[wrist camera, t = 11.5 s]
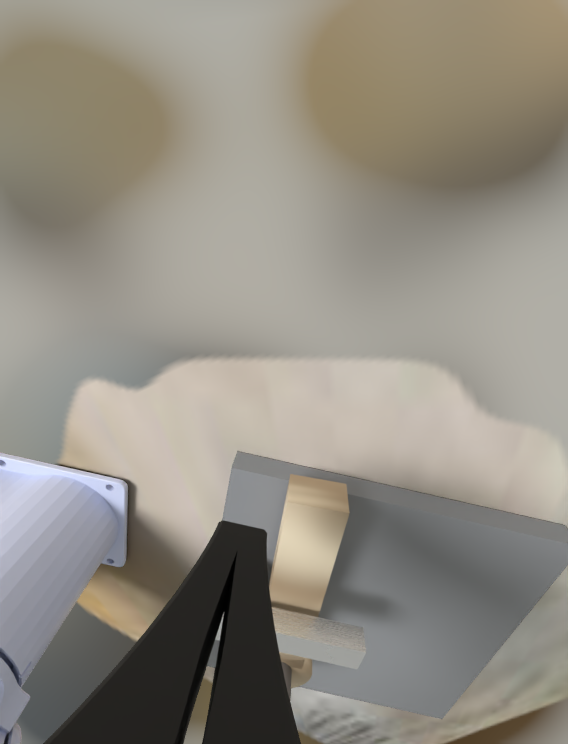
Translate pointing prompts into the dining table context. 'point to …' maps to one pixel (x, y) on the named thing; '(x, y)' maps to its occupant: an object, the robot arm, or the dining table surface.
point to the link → (306, 556)
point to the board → (411, 582)
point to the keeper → (317, 638)
